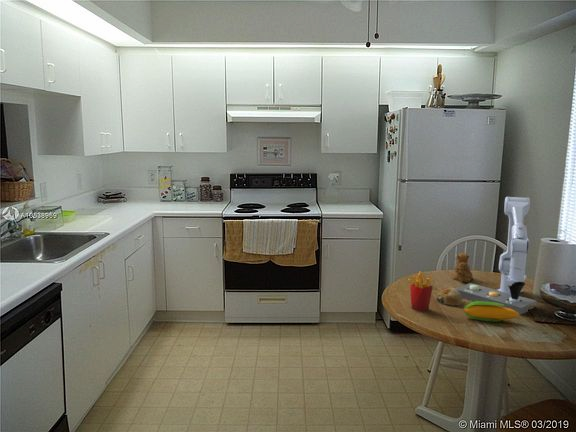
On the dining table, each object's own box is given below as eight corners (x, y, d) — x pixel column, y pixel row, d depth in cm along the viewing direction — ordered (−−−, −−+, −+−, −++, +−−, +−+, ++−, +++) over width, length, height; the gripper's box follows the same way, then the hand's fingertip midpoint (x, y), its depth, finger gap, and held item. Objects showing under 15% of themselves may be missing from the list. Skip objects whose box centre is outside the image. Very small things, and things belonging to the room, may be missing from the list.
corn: (463, 296, 188) (517, 300, 184) (462, 313, 190) (515, 318, 186) (466, 303, 181) (522, 308, 177) (464, 322, 183) (520, 326, 179)
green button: (472, 290, 215) (472, 284, 214) (480, 292, 212) (481, 286, 211) (467, 292, 212) (468, 285, 212) (475, 294, 209) (476, 287, 209)
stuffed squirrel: (471, 276, 241) (473, 251, 239) (475, 285, 228) (477, 258, 225) (450, 275, 243) (452, 250, 241) (453, 283, 230) (455, 257, 228)
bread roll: (457, 314, 199) (467, 299, 197) (435, 303, 200) (445, 287, 198) (454, 306, 208) (464, 291, 207) (433, 295, 210) (442, 280, 208)
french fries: (431, 309, 194) (434, 274, 192) (419, 313, 190) (421, 277, 187) (414, 303, 201) (416, 269, 199) (401, 307, 196) (403, 272, 194)
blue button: (511, 303, 201) (512, 296, 201) (520, 305, 198) (521, 298, 198) (506, 305, 199) (507, 298, 198) (516, 307, 196) (517, 300, 195)
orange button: (491, 297, 208) (491, 290, 207) (500, 299, 205) (500, 293, 204) (486, 299, 205) (487, 292, 205) (495, 301, 202) (496, 295, 202)
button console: (469, 289, 221) (470, 282, 221) (535, 307, 198) (536, 300, 198) (453, 295, 212) (453, 288, 212) (520, 315, 190) (521, 307, 189)
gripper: (515, 262, 203) (512, 292, 206) (499, 268, 194) (497, 299, 196) (532, 266, 198) (529, 297, 200) (517, 272, 189) (514, 304, 191)
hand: (514, 298), depth 198 cm, fingers closed, pressing on blue button
